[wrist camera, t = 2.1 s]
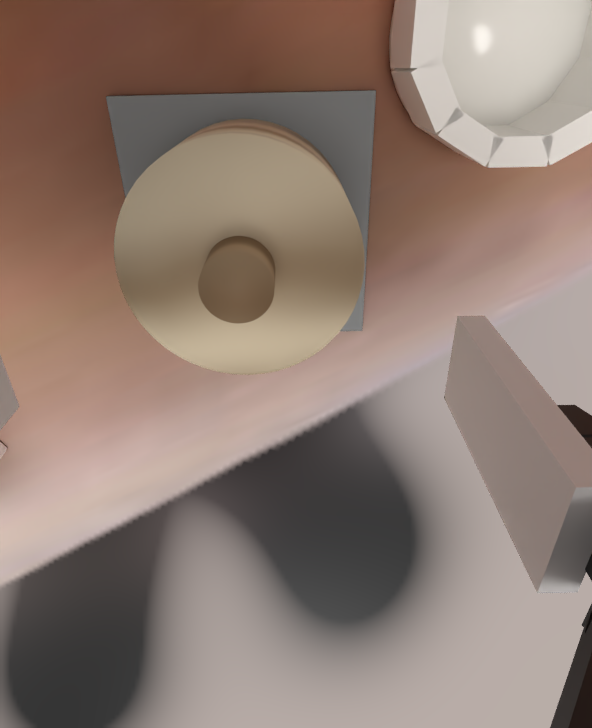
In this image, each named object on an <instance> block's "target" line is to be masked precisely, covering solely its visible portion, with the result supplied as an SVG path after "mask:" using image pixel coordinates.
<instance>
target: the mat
mask: <svg viewBox="0 0 592 728" xmlns="http://www.w3.org/2000/svg"><path fill="white" fill-rule="evenodd" d="M106 100H107V105H108V110H109V115H110V120H111V126H112V131H113V136H114V141H115V146H116V152H117V157H118V162H119V167H120V172H121V177H122V183H123V188H124V193H125V198H126V196H127V194H128V193H129V191H130V190H131V188H132V186H133V185H134V183H135V182H136V180H137V179H138V178H139V177H140V176H141V175H142V173H143V172H144V171H145V170H146V169H147V168H148V167H149V166H150V165H151V164H153V163H154V162H155V161H156V160H157V159H159V158H160V157H161V156H162V155H164V154H165V153H167V152H168V151H169V150H171V149H172V148H174V147H175V146H176V145H178V144H179V143H181V142H182V141H183V140H185V139H186V138H188V137H189V136H190V135H192V134H194V133H195V132H197V131H199V130H200V129H202V128H205V127H207V126H210V125H212V124H214V123H218V122H222V121H226V120H233V119H258V120H263V121H268V122H272V123H275V124H278V125H281V126H284V127H286V128H288V129H290V130H292V131H294V132H296V133H298V134H299V135H301V136H302V137H304V138H305V139H306V140H308V141H309V142H310V143H312V144H313V145H314V146H315V147H316V148H317V149H318V150H319V151H320V152H321V153H322V154H323V156H324V157H325V158H326V159H327V160H328V162H329V163H330V165H331V166H332V168H333V169H334V171H335V173H336V174H337V176H338V179H339V181H340V183H341V185H342V187H343V189H344V191H345V194H346V196H347V198H348V200H349V202H350V204H351V207H352V209H353V211H354V213H355V216H356V218H357V220H358V224H359V227H360V230H361V234H362V239H363V246H364V261H365V268H364V276H363V283H362V287H361V291H360V295H359V298H358V300H357V303H356V305H355V308H354V310H353V312H352V314H351V315H350V317H349V319H348V321H347V322H346V324H345V325H344V326H343V328H342V329H341V330H340V331H362V326H363V309H364V291H365V274H366V256H367V239H368V222H369V204H370V187H371V169H372V152H373V135H374V117H375V100H376V90H360V91H315V92H269V93H224V94H178V95H133V96H106Z"/></svg>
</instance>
